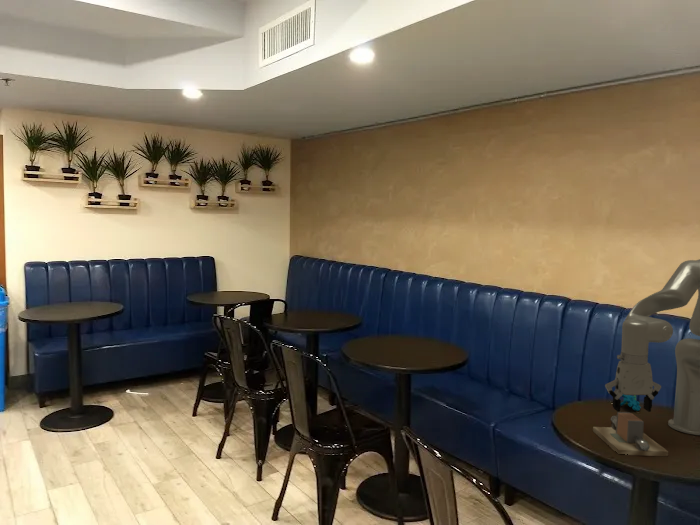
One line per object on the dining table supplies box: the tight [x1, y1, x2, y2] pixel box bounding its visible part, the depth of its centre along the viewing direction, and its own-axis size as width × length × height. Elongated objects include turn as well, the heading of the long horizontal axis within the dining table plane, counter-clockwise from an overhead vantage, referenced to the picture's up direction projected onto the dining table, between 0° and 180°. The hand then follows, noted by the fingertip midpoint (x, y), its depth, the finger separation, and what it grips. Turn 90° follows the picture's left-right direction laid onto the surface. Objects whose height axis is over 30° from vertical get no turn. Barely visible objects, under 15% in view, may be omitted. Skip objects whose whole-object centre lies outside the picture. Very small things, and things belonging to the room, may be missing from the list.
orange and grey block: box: [616, 411, 645, 443], centre depth 169 cm, size 8×4×7 cm, turn 179°
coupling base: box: [592, 421, 669, 457], centre depth 169 cm, size 15×18×3 cm
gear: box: [620, 394, 642, 412], centre depth 202 cm, size 11×6×10 cm
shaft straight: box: [633, 436, 650, 451], centre depth 161 cm, size 2×5×2 cm, turn 178°
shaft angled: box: [610, 415, 617, 426], centre depth 176 cm, size 2×5×4 cm, turn 178°
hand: (631, 410), depth 168 cm, fingers open, 9 cm apart
